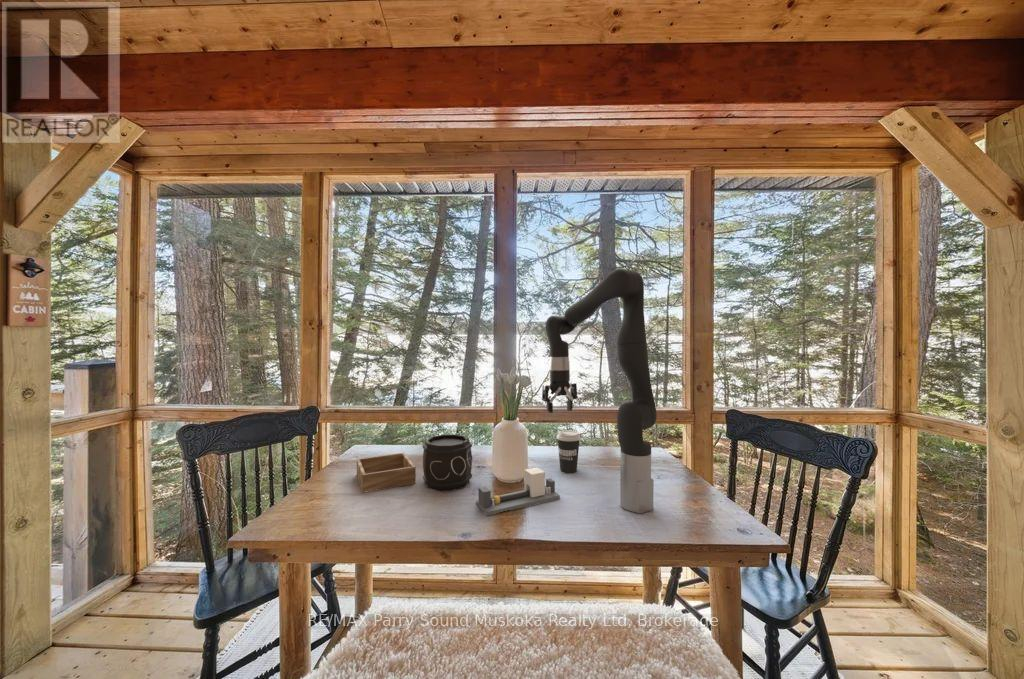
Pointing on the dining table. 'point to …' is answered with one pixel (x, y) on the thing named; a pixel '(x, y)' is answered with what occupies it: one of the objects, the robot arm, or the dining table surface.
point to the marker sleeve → (534, 481)
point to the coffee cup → (568, 450)
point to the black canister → (447, 462)
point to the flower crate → (385, 471)
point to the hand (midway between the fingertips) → (560, 411)
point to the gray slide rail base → (513, 499)
